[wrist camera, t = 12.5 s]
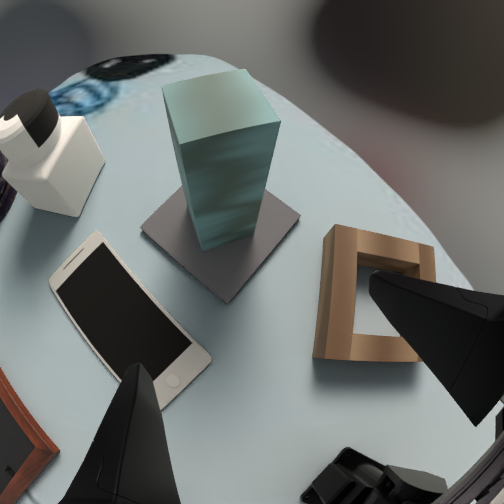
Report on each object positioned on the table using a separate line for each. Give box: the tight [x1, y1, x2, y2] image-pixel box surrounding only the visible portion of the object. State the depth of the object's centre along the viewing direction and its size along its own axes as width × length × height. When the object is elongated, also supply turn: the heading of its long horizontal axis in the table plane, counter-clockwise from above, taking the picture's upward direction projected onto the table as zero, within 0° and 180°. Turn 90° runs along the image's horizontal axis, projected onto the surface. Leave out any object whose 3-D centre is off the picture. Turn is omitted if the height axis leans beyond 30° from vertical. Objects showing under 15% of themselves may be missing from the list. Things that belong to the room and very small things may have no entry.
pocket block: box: [312, 224, 436, 362], centre depth 22 cm, size 10×10×3 cm
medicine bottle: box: [0, 89, 105, 217], centre depth 19 cm, size 7×7×12 cm
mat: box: [140, 186, 301, 304], centre depth 24 cm, size 10×10×1 cm
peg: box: [162, 69, 281, 251], centre depth 18 cm, size 4×4×13 cm
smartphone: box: [49, 231, 212, 410], centre depth 21 cm, size 7×16×1 cm, turn 47°
